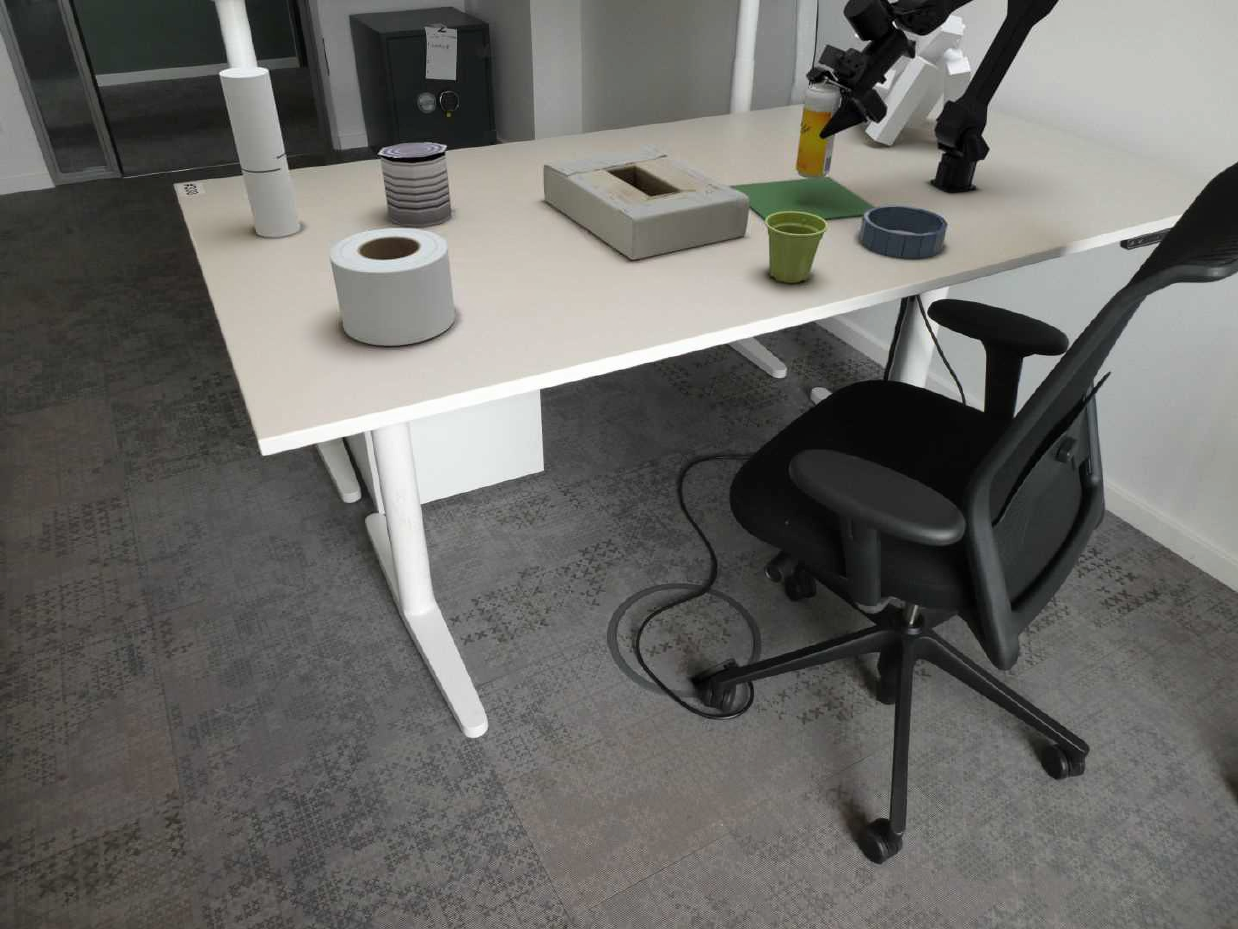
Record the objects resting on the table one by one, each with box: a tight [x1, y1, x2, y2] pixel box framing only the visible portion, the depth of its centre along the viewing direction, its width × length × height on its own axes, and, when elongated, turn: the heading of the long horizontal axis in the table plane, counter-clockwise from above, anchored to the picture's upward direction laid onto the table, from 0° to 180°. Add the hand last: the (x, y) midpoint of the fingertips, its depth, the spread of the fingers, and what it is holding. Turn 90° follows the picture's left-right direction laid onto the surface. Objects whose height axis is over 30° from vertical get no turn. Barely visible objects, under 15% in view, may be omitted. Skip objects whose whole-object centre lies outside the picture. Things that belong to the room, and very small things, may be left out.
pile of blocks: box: [852, 14, 972, 147], centre depth 195 cm, size 35×30×35 cm
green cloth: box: [728, 176, 875, 221], centre depth 165 cm, size 22×20×1 cm
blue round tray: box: [858, 204, 949, 260], centre depth 149 cm, size 14×14×4 cm
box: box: [542, 145, 750, 261], centre depth 155 cm, size 23×8×32 cm
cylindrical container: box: [218, 66, 301, 238], centre depth 142 cm, size 7×7×25 cm
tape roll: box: [329, 227, 456, 347], centre depth 120 cm, size 16×15×11 cm
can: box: [377, 141, 452, 228], centre depth 152 cm, size 11×11×12 cm
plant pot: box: [764, 211, 829, 284], centre depth 135 cm, size 9×9×9 cm
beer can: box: [795, 84, 842, 179], centre depth 156 cm, size 6×6×15 cm
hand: (811, 132), depth 155 cm, fingers closed on beer can, 6 cm apart
